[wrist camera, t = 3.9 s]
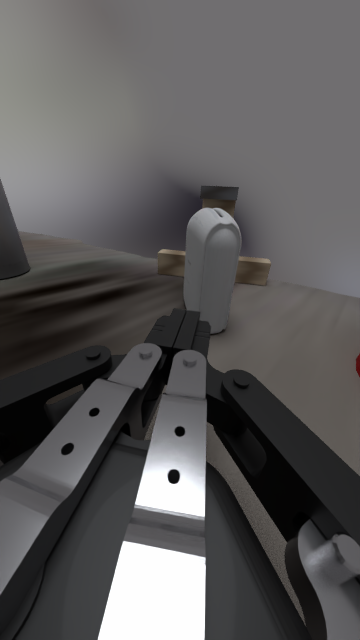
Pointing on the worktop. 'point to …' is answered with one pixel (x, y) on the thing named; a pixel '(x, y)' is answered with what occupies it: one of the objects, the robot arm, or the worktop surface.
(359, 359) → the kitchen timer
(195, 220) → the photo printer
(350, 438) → the worktop surface
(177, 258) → the retention stand
